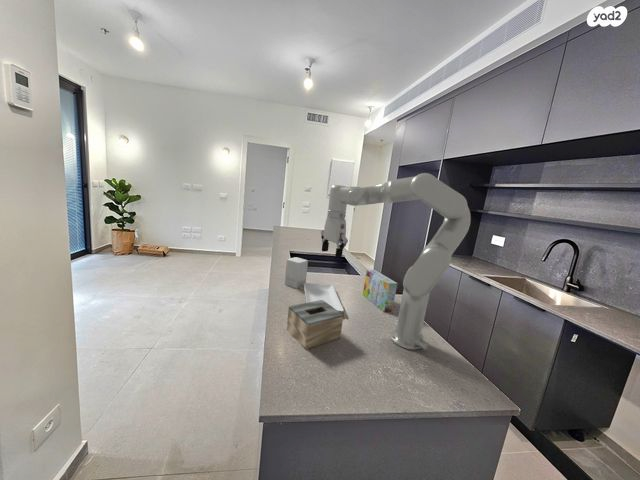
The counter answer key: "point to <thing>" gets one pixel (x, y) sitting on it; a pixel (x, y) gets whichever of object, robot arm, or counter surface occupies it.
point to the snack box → (380, 290)
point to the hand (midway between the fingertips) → (331, 254)
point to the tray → (322, 295)
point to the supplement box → (296, 272)
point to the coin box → (314, 323)
